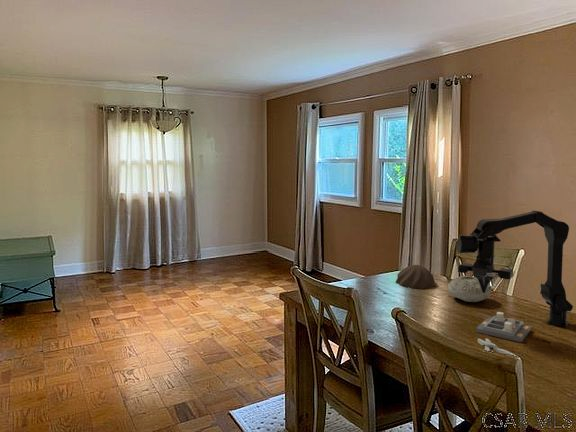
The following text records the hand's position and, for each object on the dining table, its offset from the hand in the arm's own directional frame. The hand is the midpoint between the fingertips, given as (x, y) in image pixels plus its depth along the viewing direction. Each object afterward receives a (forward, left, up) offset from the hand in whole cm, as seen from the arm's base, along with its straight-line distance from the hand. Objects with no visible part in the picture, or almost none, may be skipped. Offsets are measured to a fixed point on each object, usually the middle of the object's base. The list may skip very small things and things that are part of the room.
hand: (484, 292), depth 167 cm
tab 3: (+4, +11, -10) cm, 16 cm away
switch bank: (+5, +8, -12) cm, 15 cm away
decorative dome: (-37, -44, -12) cm, 58 cm away
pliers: (+24, +10, -12) cm, 29 cm away
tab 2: (+9, +11, -10) cm, 18 cm away
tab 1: (0, +6, -10) cm, 12 cm away
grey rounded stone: (-25, -14, -12) cm, 31 cm away
